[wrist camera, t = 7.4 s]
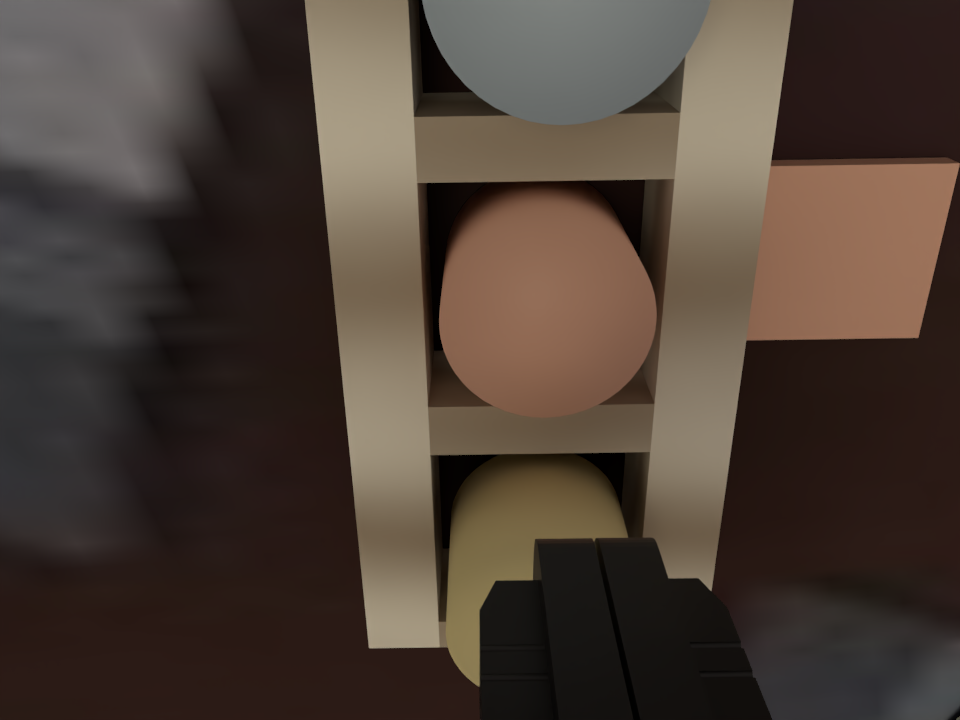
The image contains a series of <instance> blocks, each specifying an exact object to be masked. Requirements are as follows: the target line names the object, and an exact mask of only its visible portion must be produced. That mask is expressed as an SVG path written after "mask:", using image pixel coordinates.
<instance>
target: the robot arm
mask: <svg viewBox="0 0 960 720" xmlns="http://www.w3.org/2000/svg"><path fill="white" fill-rule="evenodd" d="M479 626H480V720H772V718H771V715H770V713H769V711H768V708H767V706H766V703H765V701H764V698H763V696H762V693H761V691H760V688H759V686H758V683H757V681H756V678H753V676H752V668H751V666H750V663H749V661H748V658H747V656H746V654H745V651H744V649H743V648H741V641H740V639H739V636H738V634H737V631H736V629H735V626H734V624H733V621H732V619H731V616H730V614H729V611H728V609H727V607H726V606H725V605H724V604H723V603H722V602H721V601H720V600H719V599H718V598H717V597H716V596H715V595H714V594H713V593H712V592H711V591H710V590H709V589H708V587H707V586H706V585H705V584H704V583H703V582H702V581H701V580H700V579H699V578H668V575H667V572H666V569H665V566H664V563H663V560H662V557H661V554H660V551H659V548H658V545H657V542H656V541H655V539H654V538H652V537H641V538H596V539H595V541H593V539H592V538H565V539H535V543H534V560H533V580H503V581H495V583H494V585H493V586H492V588H491V590H490V592H489V594H488V596H487V597H486V599H485V601H484V603H483V605H482V607H481V608H480V610H479Z"/></svg>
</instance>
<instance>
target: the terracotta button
mask: <svg viewBox="0 0 960 720" xmlns="http://www.w3.org/2000/svg"><path fill="white" fill-rule="evenodd" d="M656 317H657V308H656V300H655V294H654V291H653V287H652V284H651V281H650V279H649V277H648V275H647V272H646V270H645V268H644V267H643V265H642V263H641V261H640V259H639V257H638V255H637V253H636V251H635V249H634V247H633V245H632V243H631V242H630V240H629V238H628V236H627V234H626V232H625V230H624V228H623V226H622V224H621V222H620V220H619V218H618V217H617V215H616V213H615V211H614V210H613V208H612V206H611V205H610V203H609V202H608V201H607V200H606V199H605V197H604V196H603V195H602V194H601V193H600V192H599V191H598V190H596V189H595V188H594V187H593V186H591V185H590V184H588V183H587V182H585V181H584V180H581V181H517V182H488V183H487V184H485V185H484V186H482V187H481V188H480V189H478V190H477V191H476V192H475V193H474V194H473V195H472V196H471V197H470V198H469V199H468V200H467V201H466V202H465V204H464V205H463V206H462V208H461V209H460V211H459V212H458V214H457V215H456V217H455V220H454V222H453V224H452V226H451V229H450V232H449V235H448V240H447V246H446V254H445V263H444V273H443V283H442V292H441V302H440V312H439V329H440V338H441V342H442V346H443V350H444V352H445V355H446V357H447V360H448V362H449V364H450V366H451V367H452V369H453V371H454V372H455V374H456V375H457V376H458V378H459V379H460V380H461V381H462V383H463V384H464V385H465V386H466V387H467V388H468V389H469V390H470V391H471V392H473V393H474V394H475V395H477V396H478V397H479V398H481V399H482V400H483V401H485V402H487V403H489V404H491V405H492V406H494V407H496V408H499V409H501V410H504V411H506V412H510V413H513V414H517V415H521V416H528V417H540V418H549V417H561V416H566V415H571V414H575V413H578V412H582V411H585V410H587V409H590V408H592V407H594V406H596V405H598V404H600V403H602V402H604V401H605V400H607V399H609V398H610V397H612V396H613V395H614V394H616V393H617V392H618V391H620V390H621V389H622V388H623V387H624V386H625V385H626V384H627V383H628V382H629V381H630V380H631V379H632V378H633V376H634V375H635V374H636V373H637V371H638V370H639V368H640V367H641V365H642V364H643V362H644V360H645V359H646V356H647V354H648V352H649V350H650V348H651V345H652V341H653V338H654V334H655V328H656Z"/></svg>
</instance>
